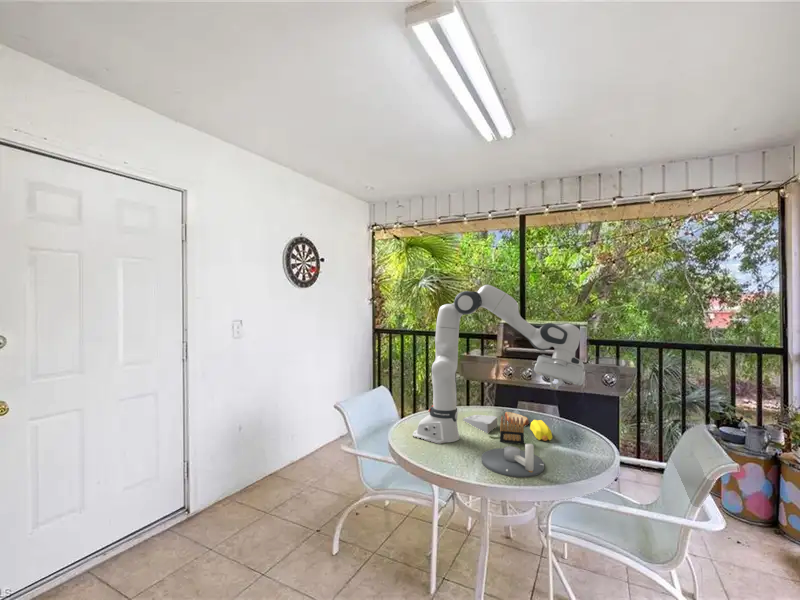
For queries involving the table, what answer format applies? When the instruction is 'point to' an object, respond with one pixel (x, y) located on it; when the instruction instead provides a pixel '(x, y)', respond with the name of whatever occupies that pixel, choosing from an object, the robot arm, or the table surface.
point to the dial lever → (514, 456)
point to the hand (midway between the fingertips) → (553, 388)
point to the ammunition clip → (512, 431)
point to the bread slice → (525, 419)
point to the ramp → (482, 422)
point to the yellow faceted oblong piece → (541, 430)
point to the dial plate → (509, 464)
